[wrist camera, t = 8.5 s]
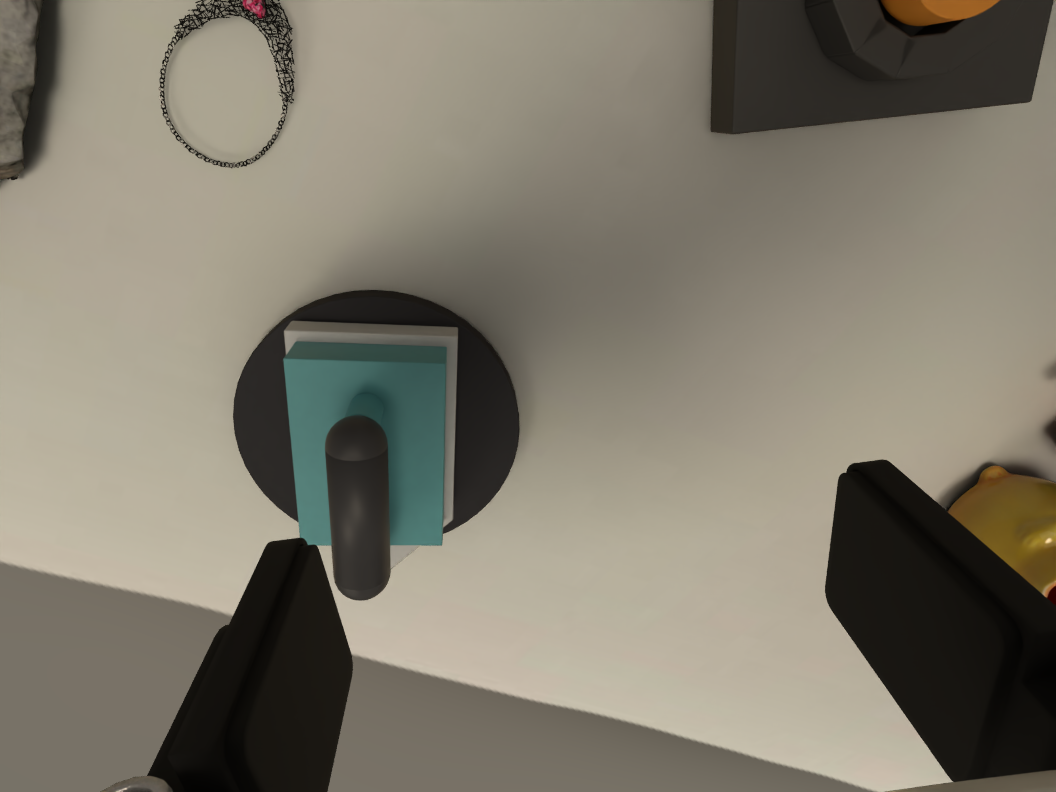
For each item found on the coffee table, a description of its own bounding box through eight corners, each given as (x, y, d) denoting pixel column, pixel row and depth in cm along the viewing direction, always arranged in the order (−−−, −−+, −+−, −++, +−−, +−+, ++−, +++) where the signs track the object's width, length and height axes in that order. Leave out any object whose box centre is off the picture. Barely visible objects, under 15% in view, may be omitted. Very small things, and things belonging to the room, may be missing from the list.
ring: (329, 26, 22) (323, 23, 21) (256, 189, 23) (248, 193, 23) (208, -54, 20) (196, -62, 19) (142, 125, 22) (128, 126, 21)
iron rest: (502, 273, 26) (503, 279, 25) (529, 515, 31) (531, 528, 30) (203, 308, 25) (193, 315, 24) (280, 548, 30) (275, 562, 29)
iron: (291, 320, 24) (235, 388, 19) (458, 327, 25) (456, 394, 19) (311, 561, 29) (273, 676, 23) (451, 561, 30) (448, 672, 24)
